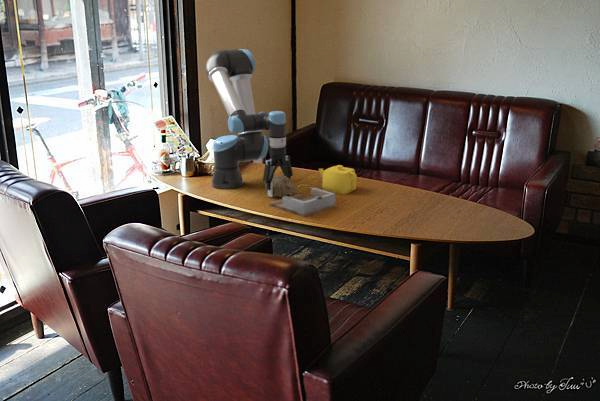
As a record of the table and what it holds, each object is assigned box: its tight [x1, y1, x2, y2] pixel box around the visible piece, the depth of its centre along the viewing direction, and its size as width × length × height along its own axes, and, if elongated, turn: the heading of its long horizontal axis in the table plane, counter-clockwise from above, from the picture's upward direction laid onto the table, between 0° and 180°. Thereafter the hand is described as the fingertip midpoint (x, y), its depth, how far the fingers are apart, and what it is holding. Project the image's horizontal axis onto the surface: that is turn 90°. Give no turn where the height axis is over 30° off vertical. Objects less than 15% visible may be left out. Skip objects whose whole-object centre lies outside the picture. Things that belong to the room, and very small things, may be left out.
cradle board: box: [268, 193, 336, 218], centre depth 280 cm, size 22×19×1 cm
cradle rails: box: [282, 187, 336, 214], centre depth 276 cm, size 14×19×5 cm
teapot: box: [318, 164, 358, 195], centre depth 302 cm, size 20×12×12 cm, turn 57°
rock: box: [263, 173, 297, 198], centre depth 294 cm, size 11×12×10 cm
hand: (278, 194), depth 295 cm, fingers closed on rock, 9 cm apart
